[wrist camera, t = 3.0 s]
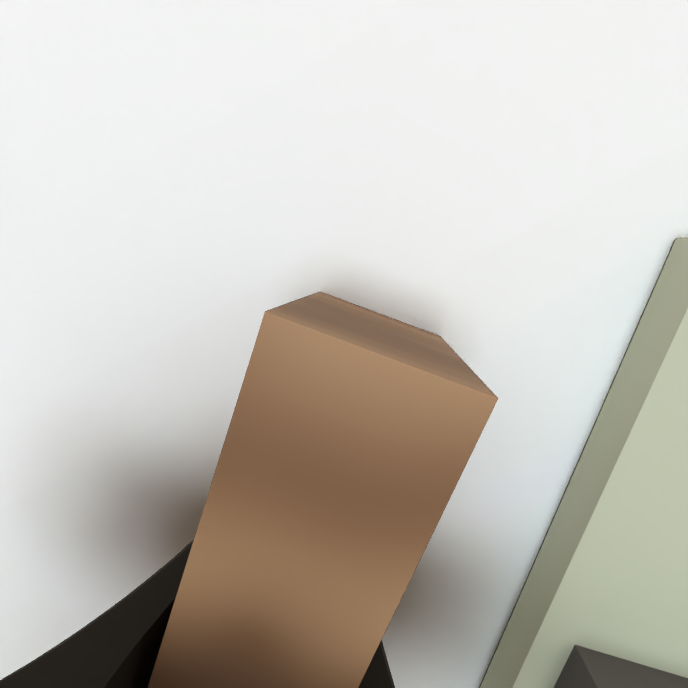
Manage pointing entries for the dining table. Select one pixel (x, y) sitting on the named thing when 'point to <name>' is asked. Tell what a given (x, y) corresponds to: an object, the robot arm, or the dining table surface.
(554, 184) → the dining table surface
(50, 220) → the dining table surface
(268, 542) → the walnut batten
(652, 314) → the stand
